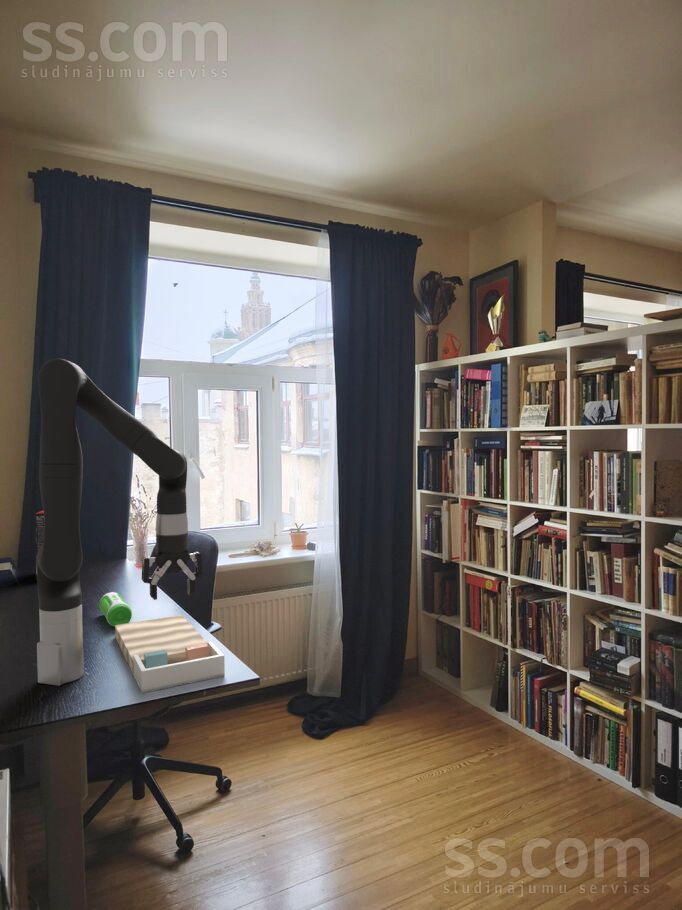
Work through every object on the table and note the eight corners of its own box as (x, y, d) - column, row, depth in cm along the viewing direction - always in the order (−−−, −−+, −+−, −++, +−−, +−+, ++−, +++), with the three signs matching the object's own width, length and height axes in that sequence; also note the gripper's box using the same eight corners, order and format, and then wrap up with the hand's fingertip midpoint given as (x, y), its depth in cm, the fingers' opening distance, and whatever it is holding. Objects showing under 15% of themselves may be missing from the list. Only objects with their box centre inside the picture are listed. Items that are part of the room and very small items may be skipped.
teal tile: (165, 669, 144) (167, 673, 142) (144, 673, 142) (146, 677, 140) (165, 649, 144) (167, 653, 142) (143, 653, 142) (145, 656, 140)
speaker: (133, 627, 178) (133, 602, 178) (107, 631, 174) (107, 606, 174) (122, 611, 193) (121, 589, 193) (98, 615, 189) (97, 592, 189)
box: (224, 675, 142) (224, 655, 142) (142, 693, 133) (141, 671, 133) (211, 660, 152) (211, 641, 152) (133, 675, 143) (133, 655, 142)
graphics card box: (48, 571, 248) (46, 506, 247) (66, 570, 249) (64, 506, 248) (35, 582, 231) (33, 512, 230) (54, 581, 232) (52, 511, 231)
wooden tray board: (211, 660, 152) (211, 646, 152) (133, 675, 143) (133, 661, 143) (182, 626, 178) (182, 614, 178) (115, 637, 169) (115, 625, 169)
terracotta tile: (205, 662, 149) (208, 665, 147) (185, 666, 146) (188, 670, 144) (205, 642, 149) (208, 646, 146) (185, 646, 146) (188, 649, 144)
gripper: (144, 536, 139) (145, 604, 139) (205, 531, 145) (205, 596, 146) (138, 531, 145) (139, 597, 146) (196, 526, 152) (197, 589, 153)
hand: (172, 596), depth 146 cm, fingers open, 8 cm apart
